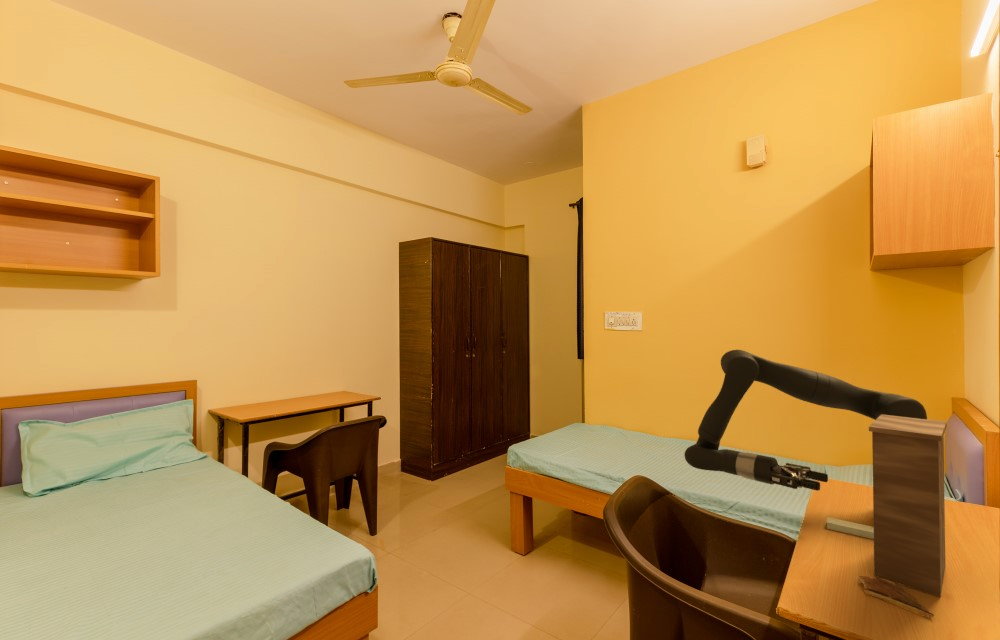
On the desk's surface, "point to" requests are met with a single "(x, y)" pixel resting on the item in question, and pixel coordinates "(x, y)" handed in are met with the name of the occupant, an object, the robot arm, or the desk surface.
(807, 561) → the desk surface
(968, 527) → the desk surface
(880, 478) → the walnut stand
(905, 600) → the shard
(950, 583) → the desk surface
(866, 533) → the cream plank with block
